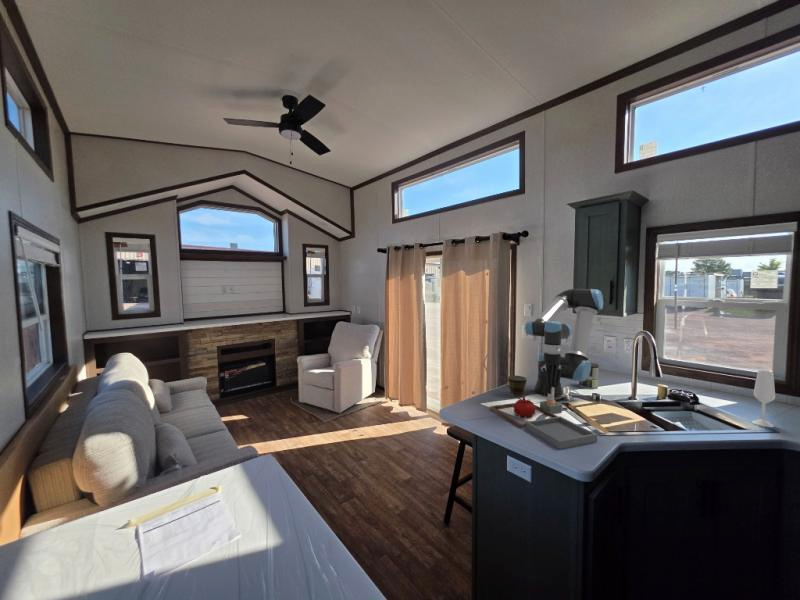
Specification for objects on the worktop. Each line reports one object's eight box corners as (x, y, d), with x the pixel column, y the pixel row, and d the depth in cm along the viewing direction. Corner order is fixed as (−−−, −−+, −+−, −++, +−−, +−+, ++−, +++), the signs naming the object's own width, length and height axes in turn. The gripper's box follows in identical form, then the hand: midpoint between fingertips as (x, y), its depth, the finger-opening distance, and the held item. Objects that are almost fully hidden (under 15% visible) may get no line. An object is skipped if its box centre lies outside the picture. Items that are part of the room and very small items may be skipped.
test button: (550, 406, 166) (551, 398, 166) (557, 409, 162) (557, 401, 162) (544, 407, 165) (544, 399, 165) (550, 410, 161) (550, 402, 161)
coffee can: (583, 388, 199) (583, 365, 198) (576, 383, 209) (576, 361, 208) (601, 389, 197) (602, 366, 197) (593, 384, 208) (594, 362, 207)
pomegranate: (539, 419, 155) (540, 399, 154) (519, 420, 153) (520, 400, 152) (527, 410, 164) (528, 392, 164) (509, 411, 163) (510, 393, 162)
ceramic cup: (518, 391, 193) (518, 374, 193) (530, 397, 184) (530, 379, 184) (499, 393, 189) (499, 376, 189) (510, 399, 180) (510, 381, 179)
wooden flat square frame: (527, 404, 173) (527, 401, 173) (561, 421, 151) (561, 418, 151) (489, 409, 166) (490, 406, 166) (520, 428, 144) (520, 424, 144)
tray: (559, 422, 150) (560, 416, 150) (596, 441, 132) (597, 434, 132) (525, 428, 144) (525, 421, 144) (559, 449, 126) (559, 441, 126)
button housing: (550, 407, 168) (551, 400, 168) (561, 412, 162) (561, 404, 161) (539, 409, 166) (540, 401, 166) (550, 414, 159) (550, 406, 159)
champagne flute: (775, 428, 145) (778, 374, 144) (752, 424, 149) (755, 371, 148) (772, 423, 150) (775, 371, 149) (750, 419, 154) (753, 369, 153)
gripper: (547, 355, 157) (545, 403, 158) (568, 353, 161) (567, 400, 162) (536, 352, 164) (534, 398, 165) (556, 350, 168) (555, 396, 169)
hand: (550, 399), depth 163 cm, fingers closed
